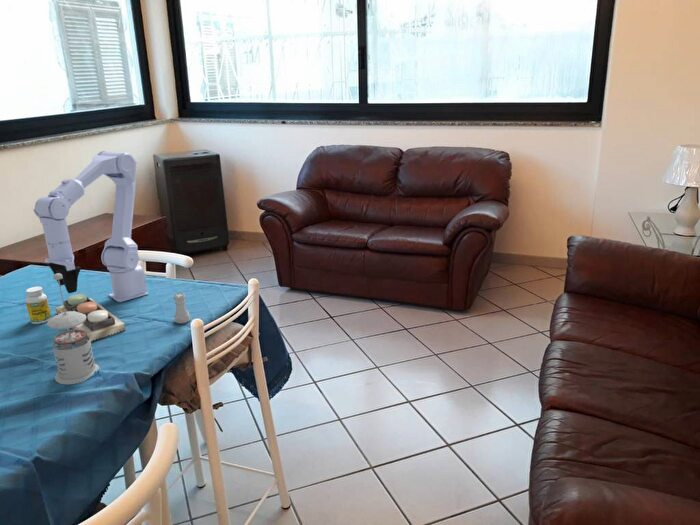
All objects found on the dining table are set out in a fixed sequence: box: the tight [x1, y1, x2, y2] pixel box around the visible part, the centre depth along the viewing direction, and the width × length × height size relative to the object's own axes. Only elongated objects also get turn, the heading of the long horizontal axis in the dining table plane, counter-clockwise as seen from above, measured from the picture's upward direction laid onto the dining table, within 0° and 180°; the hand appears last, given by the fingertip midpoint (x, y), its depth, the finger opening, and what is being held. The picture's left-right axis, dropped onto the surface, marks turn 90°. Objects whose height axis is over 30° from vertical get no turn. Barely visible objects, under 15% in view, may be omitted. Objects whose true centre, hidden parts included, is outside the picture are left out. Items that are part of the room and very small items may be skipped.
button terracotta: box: [77, 302, 98, 314], centre depth 160 cm, size 5×5×2 cm
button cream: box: [87, 310, 109, 324], centre depth 154 cm, size 5×5×2 cm
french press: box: [46, 273, 100, 385], centre depth 131 cm, size 10×12×25 cm
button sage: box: [66, 293, 88, 307], centre depth 165 cm, size 5×5×2 cm
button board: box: [55, 296, 126, 343], centre depth 161 cm, size 10×25×4 cm, turn 43°
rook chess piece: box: [173, 292, 191, 325], centre depth 159 cm, size 4×4×8 cm
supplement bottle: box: [24, 286, 52, 325], centre depth 161 cm, size 5×5×10 cm
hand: (67, 288), depth 158 cm, fingers open, 7 cm apart
